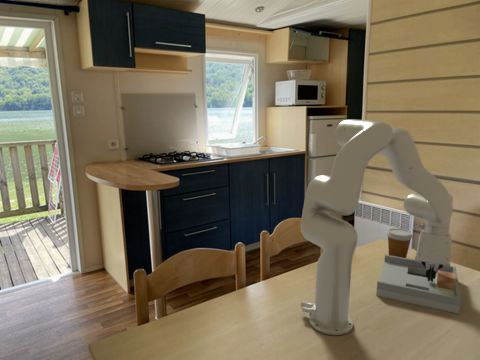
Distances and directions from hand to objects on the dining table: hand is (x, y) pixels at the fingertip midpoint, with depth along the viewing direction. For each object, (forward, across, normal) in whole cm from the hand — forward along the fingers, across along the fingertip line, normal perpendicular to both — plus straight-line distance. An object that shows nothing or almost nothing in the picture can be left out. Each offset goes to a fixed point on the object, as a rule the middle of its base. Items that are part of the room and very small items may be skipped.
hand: (430, 279), depth 127 cm
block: (+1, +5, 0) cm, 5 cm away
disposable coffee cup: (+4, -12, +22) cm, 25 cm away
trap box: (+4, -4, 0) cm, 5 cm away
